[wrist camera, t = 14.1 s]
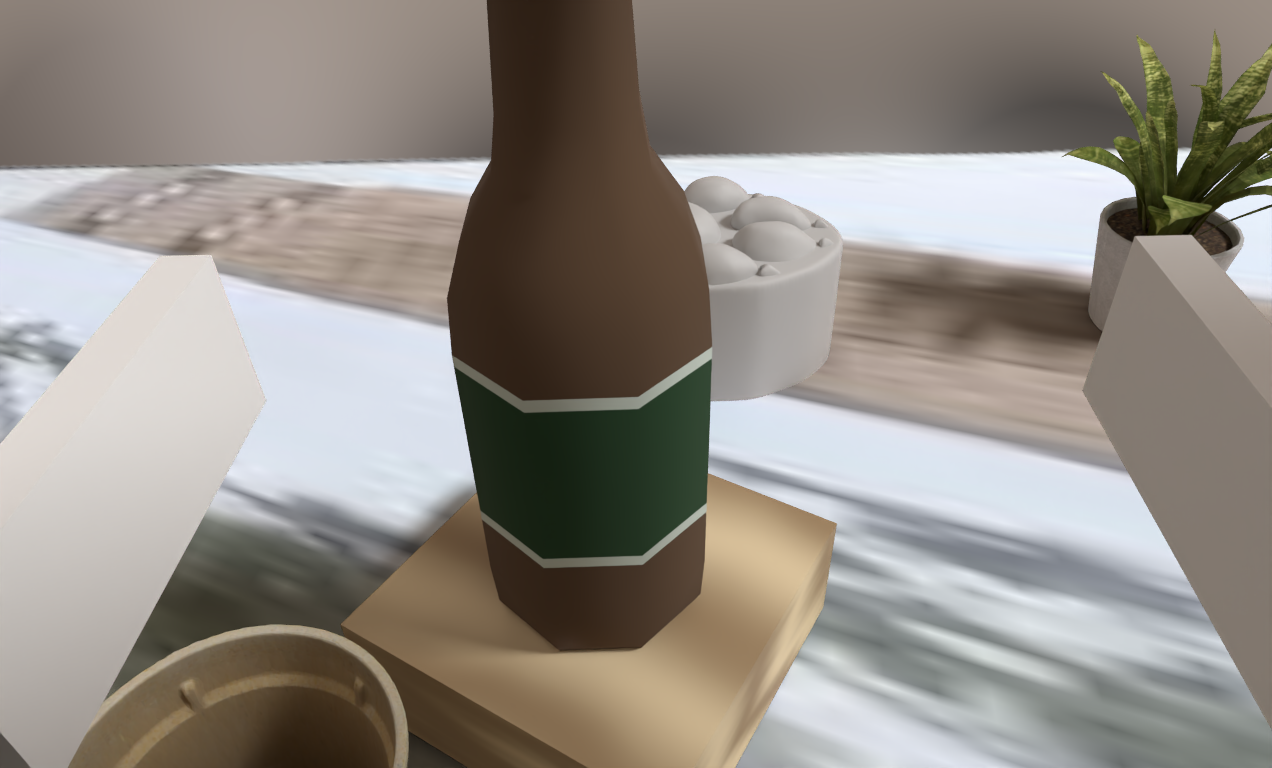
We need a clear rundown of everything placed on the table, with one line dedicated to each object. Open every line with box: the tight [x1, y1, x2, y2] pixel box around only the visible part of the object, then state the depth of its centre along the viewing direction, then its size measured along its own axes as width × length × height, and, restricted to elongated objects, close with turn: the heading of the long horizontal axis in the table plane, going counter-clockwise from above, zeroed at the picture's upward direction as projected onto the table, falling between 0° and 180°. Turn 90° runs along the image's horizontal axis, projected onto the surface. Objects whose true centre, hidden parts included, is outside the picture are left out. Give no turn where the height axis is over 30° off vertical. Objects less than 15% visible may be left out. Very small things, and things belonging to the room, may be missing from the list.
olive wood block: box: [340, 474, 837, 768], centre depth 35 cm, size 13×13×5 cm
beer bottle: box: [447, 0, 712, 651], centre depth 26 cm, size 8×8×24 cm
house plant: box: [1062, 31, 1272, 331], centre depth 48 cm, size 14×14×16 cm
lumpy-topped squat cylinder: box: [684, 176, 843, 401], centre depth 50 cm, size 10×13×9 cm
